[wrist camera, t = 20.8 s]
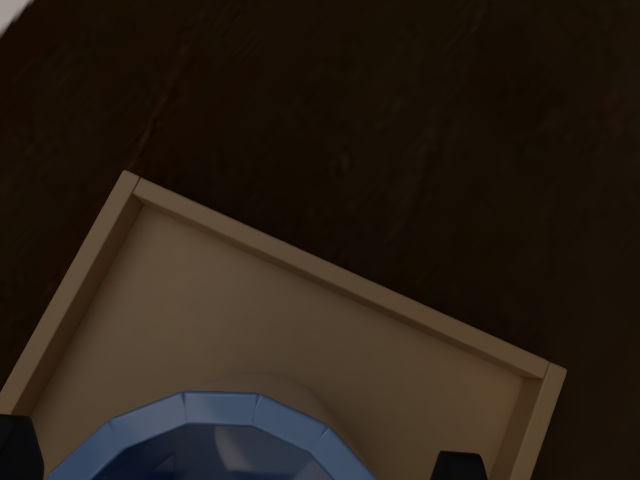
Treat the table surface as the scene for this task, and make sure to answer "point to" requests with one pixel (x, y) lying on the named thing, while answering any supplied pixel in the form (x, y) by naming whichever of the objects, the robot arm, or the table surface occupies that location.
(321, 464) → the blue cup
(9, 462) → the robot arm
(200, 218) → the tray
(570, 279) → the table surface
